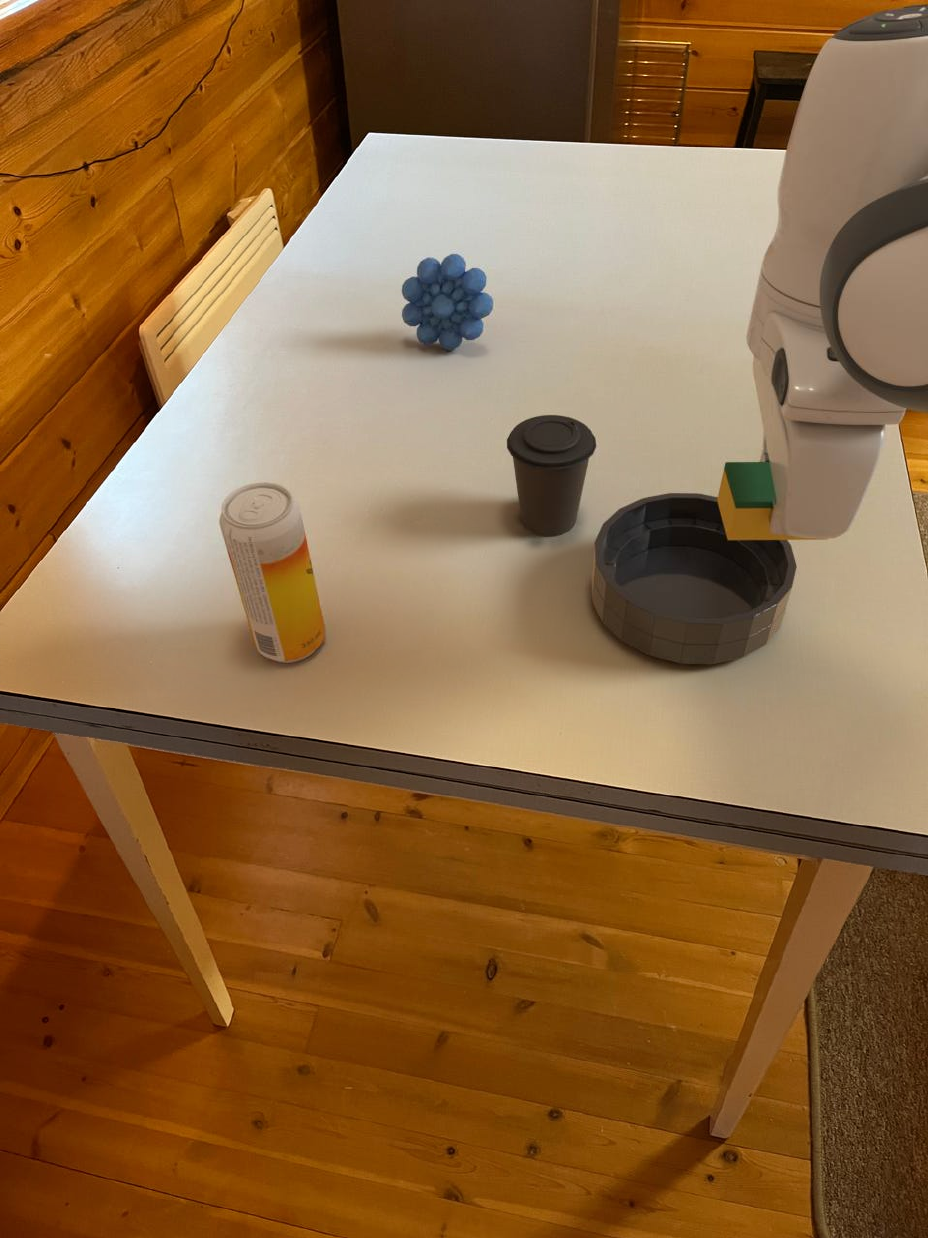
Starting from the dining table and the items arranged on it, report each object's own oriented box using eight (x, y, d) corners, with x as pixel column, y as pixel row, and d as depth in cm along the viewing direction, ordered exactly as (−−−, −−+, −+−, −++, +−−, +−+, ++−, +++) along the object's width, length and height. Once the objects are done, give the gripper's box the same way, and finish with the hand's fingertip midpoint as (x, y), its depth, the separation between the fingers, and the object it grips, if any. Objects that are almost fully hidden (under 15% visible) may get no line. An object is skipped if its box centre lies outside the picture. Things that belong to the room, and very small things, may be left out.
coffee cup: (603, 506, 91) (611, 419, 84) (570, 555, 86) (575, 467, 79) (528, 484, 94) (530, 398, 87) (492, 531, 89) (490, 444, 82)
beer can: (338, 624, 81) (311, 486, 70) (307, 674, 77) (274, 536, 66) (275, 610, 82) (240, 473, 72) (243, 658, 78) (200, 521, 68)
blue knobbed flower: (505, 339, 114) (504, 242, 106) (487, 366, 110) (485, 268, 101) (418, 326, 118) (410, 231, 109) (397, 352, 113) (387, 255, 105)
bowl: (765, 540, 86) (777, 493, 83) (797, 673, 75) (813, 626, 71) (588, 537, 88) (592, 491, 84) (594, 668, 76) (598, 621, 72)
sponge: (812, 499, 68) (824, 460, 66) (827, 539, 65) (841, 500, 63) (716, 500, 69) (725, 461, 66) (727, 540, 66) (736, 501, 63)
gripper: (755, 243, 63) (720, 415, 73) (794, 413, 49) (743, 597, 59) (851, 245, 63) (802, 419, 73) (917, 418, 49) (845, 604, 59)
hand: (776, 500), depth 66 cm, fingers closed on sponge, 4 cm apart
